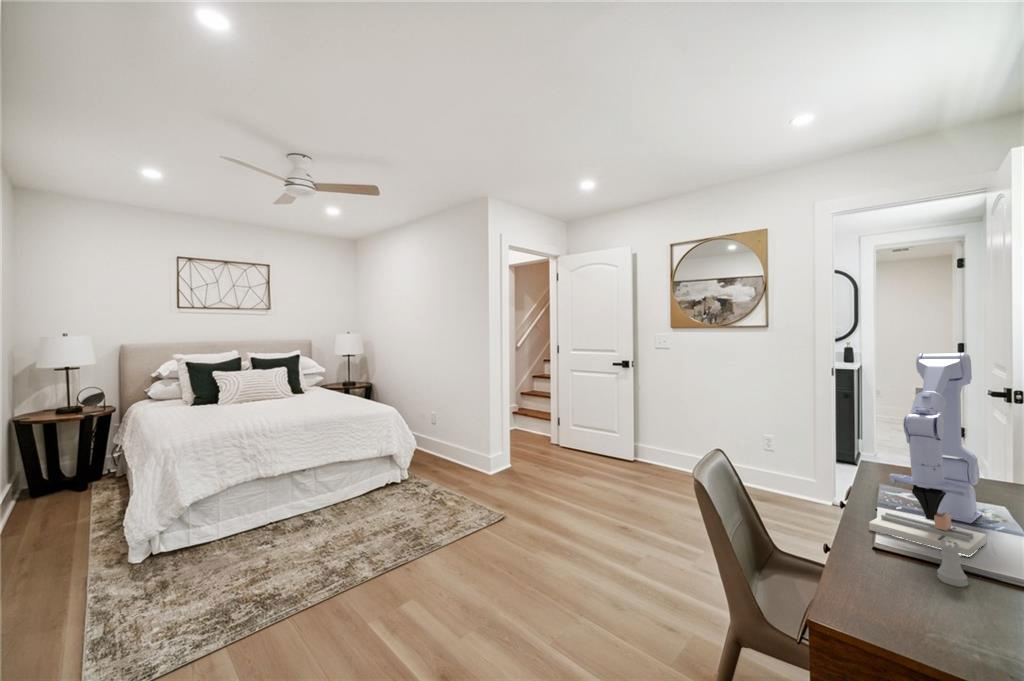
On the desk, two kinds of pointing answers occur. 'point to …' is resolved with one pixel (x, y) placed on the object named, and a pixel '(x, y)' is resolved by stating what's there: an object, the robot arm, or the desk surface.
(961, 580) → the rook chess piece
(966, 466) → the robot arm
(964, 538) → the white slider track board
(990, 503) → the desk surface
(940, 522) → the fader
